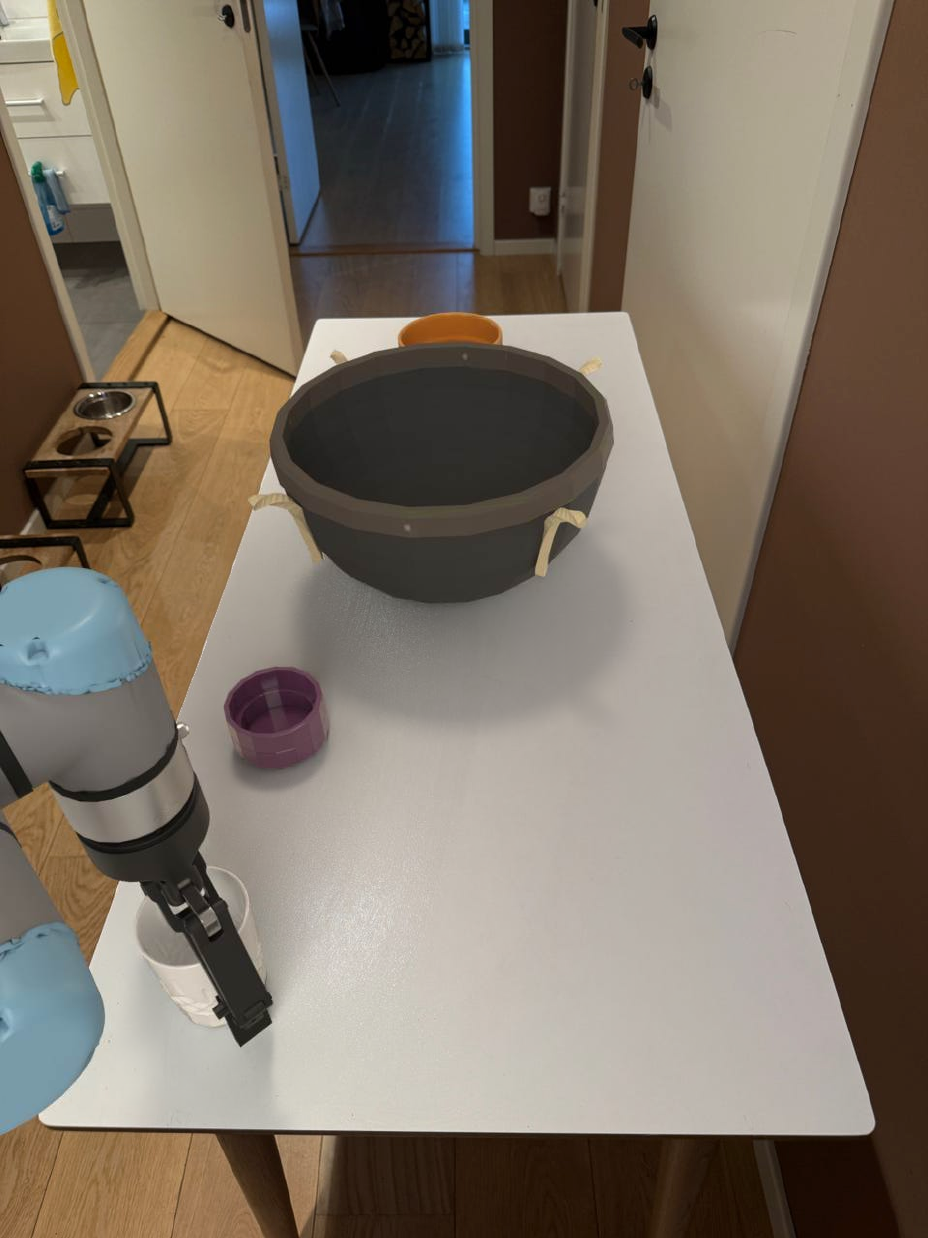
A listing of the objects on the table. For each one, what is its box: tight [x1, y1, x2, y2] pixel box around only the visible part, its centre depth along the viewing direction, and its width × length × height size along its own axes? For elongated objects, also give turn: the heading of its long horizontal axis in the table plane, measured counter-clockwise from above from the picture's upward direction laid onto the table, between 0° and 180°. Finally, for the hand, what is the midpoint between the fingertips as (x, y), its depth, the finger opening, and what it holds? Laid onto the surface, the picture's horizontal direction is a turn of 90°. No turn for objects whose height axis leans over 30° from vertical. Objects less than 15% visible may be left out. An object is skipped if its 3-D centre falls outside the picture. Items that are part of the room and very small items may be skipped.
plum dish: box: [223, 666, 330, 770], centre depth 88 cm, size 9×9×5 cm
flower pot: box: [397, 311, 504, 347], centre depth 129 cm, size 14×14×13 cm
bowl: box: [247, 341, 615, 605], centre depth 101 cm, size 35×35×20 cm
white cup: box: [133, 865, 267, 1028], centre depth 67 cm, size 8×8×10 cm
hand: (215, 975), depth 70 cm, fingers open, 11 cm apart
